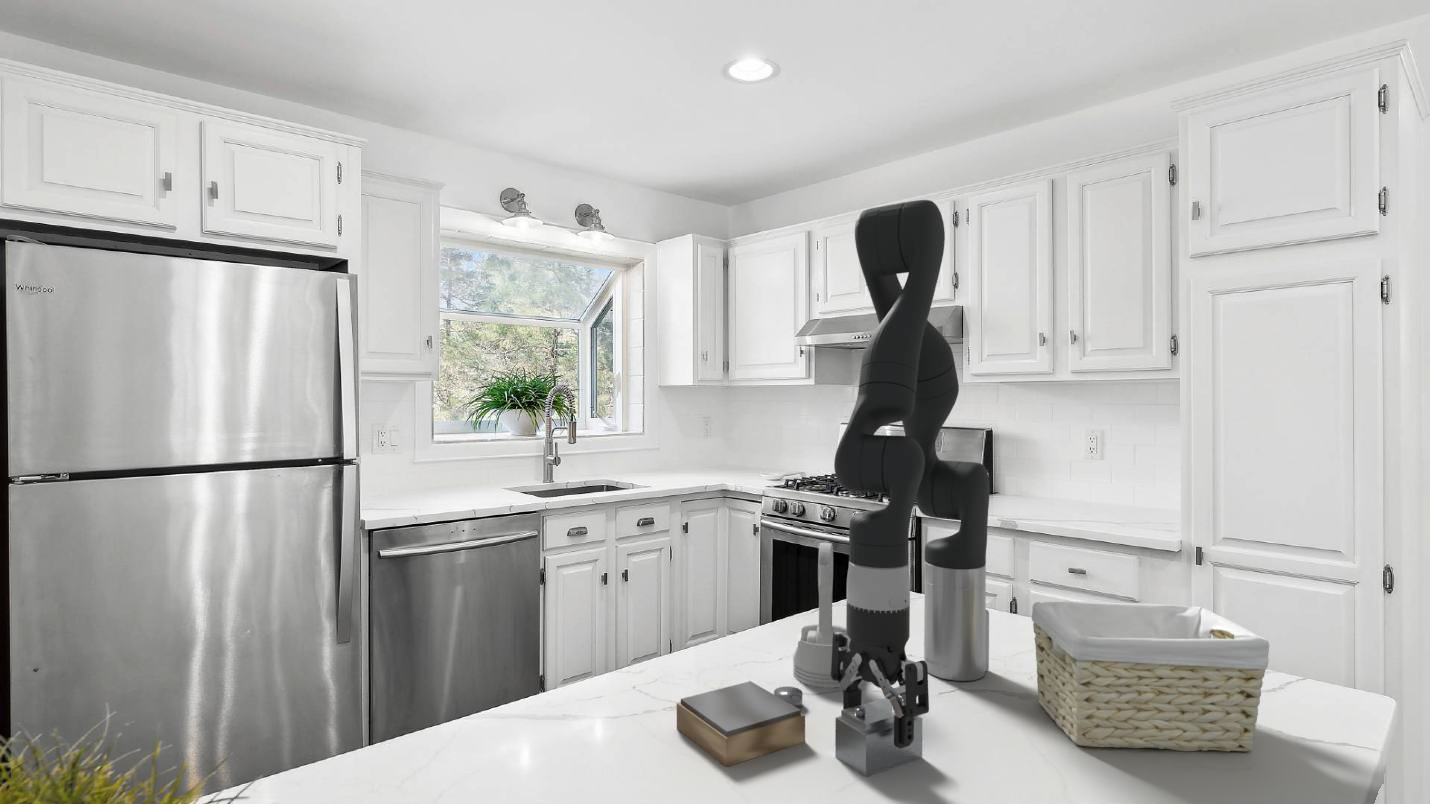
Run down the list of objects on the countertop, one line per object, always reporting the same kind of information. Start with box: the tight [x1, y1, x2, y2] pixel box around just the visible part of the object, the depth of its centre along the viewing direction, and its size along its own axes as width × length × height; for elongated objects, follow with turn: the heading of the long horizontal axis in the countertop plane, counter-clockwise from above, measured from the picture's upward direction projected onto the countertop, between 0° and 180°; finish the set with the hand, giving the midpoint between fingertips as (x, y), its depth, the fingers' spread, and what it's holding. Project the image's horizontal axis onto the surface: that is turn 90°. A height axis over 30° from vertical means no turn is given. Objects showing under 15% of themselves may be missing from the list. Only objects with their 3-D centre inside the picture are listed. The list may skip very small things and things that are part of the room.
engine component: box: [792, 542, 853, 689], centre depth 120 cm, size 11×20×10 cm
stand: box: [676, 680, 806, 768], centre depth 99 cm, size 12×12×4 cm
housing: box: [834, 696, 923, 778], centre depth 93 cm, size 9×6×7 cm, turn 120°
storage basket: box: [1031, 601, 1270, 752], centre depth 101 cm, size 24×16×15 cm
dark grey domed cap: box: [773, 686, 803, 710], centre depth 108 cm, size 4×4×2 cm
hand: (876, 732), depth 93 cm, fingers open, 8 cm apart
